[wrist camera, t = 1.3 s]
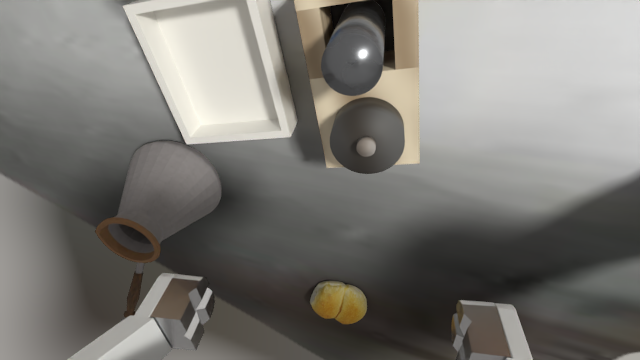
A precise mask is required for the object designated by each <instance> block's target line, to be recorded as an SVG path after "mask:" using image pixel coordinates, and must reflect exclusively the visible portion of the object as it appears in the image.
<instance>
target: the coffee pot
mask: <svg viewBox="0 0 640 360" xmlns="http://www.w3.org/2000/svg"><path fill="white" fill-rule="evenodd" d="M220 199H221V181H220V178H219V175H218V172H217V171H216V169H215V168H214V166H213V165H212V163H211V162H210V161H209V160H208V159H207V158H206V157H205V156H204V155H203V154H202V153H201V152H199V151H198V150H196V149H194V148H192V147H190V146H188V145H185V144H183V143H179V142H175V141H155V142H152V143H148V144H145V145H143V146H142V147H140V148H139V149H138V150H136V152H135V153H134V155H133V157H132V159H131V161H130V165H129V169H128V174H127V178H126V182H125V186H124V190H123V194H122V198H121V202H120V206H119V211H118V215H116V216H115V217H112V218H107V219H105V220H104V221H102V222H101V223H100V224H99V225H98V226H97V228H96V230H95V232H96V234H97V236H98V237H99V238H100V240H101V241H102V242H103V243H104V244H105V245H106V246H107V247H108V248H109V249H110V250H111V251H113V252H114V253H115V254H117V255H119V256H121V257H122V258H125V259H127V260H130V261H134V262H137V266H136V271H135V273H134V276H133V280H132V283H131V287H130V290H129V294H128V297H127V311H125V313H124V316H125V318H123V319H121V321H122V320H124V319H126V318H127V317H128V316H130V315H132V316H134V315H135V311H134V309H135V307H136V304H137V302H138V300H139V295H140V288H141V282H142V275H143V268H144V264H145V263H148V262H152V261H154V260H156V259H157V258H158V257H159V255H160V251H161V248H160V244H161V241H163V240H164V239H166V238H168V237H169V236H171V235H173V234H175V233H176V232H178V231H180V230H182V229H183V228H185V227H187V226H188V225H190V224H192V223H194V222H195V221H197V220H199V219H200V218H202V217H204V216H206V215H207V214H209V213H211V212H212V211H213V210H214V209H215V208H216V207H217V206H218V204H219V201H220ZM121 321H120V322H121Z"/></svg>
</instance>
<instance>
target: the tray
mask: <svg viewBox="0 0 640 360" xmlns="http://www.w3.org/2000/svg"><path fill="white" fill-rule="evenodd" d="M123 8H124V10H125V12H126V15H127V17H128V19H129V21H130V23H131V25H132V28H133V30H134V32H135V34H136V36H137V38H138V40H139V43H140V45H141V47H142V49H143V51H144V53H145V56H146V58H147V60H148V62H149V64H150V66H151V69H152V71H153V73H154V75H155V77H156V79H157V82H158V84H159V86H160V88H161V90H162V92H163V95H164V97H165V99H166V101H167V103H168V105H169V108H170V110H171V112H172V114H173V116H174V118H175V121H176V123H177V125H178V127H179V129H180V131H181V134H182V136H183V138H184V140H185V142H186V144H199V143H213V142H227V141H241V140H255V139H269V138H283V137H291V135H292V133H293V131H294V129H295V126H296V124H297V122H298V118H297V114H296V110H295V105H294V101H293V97H292V93H291V88H290V84H289V80H288V75H287V71H286V67H285V63H284V58H283V54H282V50H281V46H280V41H279V37H278V33H277V28H276V24H275V20H274V16H273V11H272V7H271V3H270V0H137V1H135V2H132V3H129V4H126V5H124V6H123Z"/></svg>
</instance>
